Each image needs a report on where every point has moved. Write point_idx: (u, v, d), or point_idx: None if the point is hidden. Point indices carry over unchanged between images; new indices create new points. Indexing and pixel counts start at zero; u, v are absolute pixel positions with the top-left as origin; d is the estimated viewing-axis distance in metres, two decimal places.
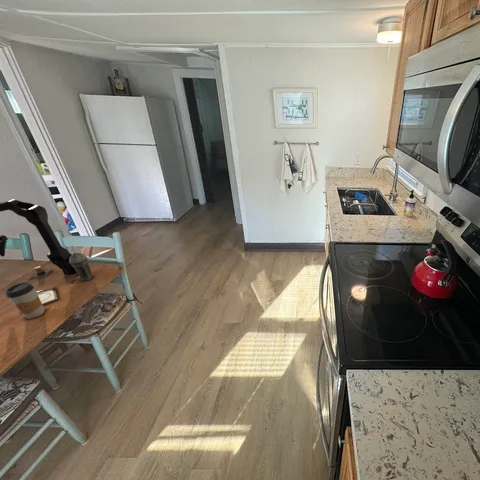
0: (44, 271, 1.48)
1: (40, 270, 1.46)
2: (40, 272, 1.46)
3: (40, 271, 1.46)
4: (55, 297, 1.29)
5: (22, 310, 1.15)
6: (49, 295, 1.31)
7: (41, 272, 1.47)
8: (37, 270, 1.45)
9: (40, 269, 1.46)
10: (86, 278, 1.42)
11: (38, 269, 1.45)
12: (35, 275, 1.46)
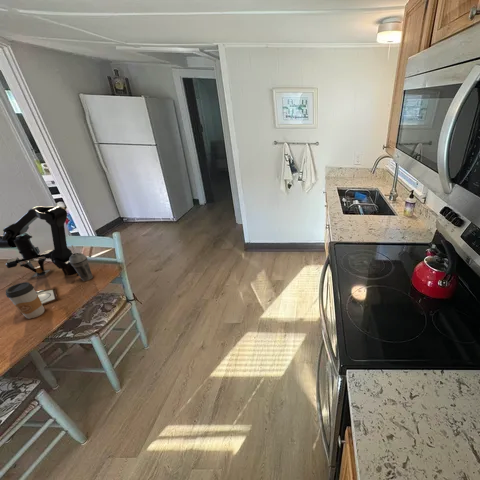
0: (44, 271, 1.48)
1: (40, 270, 1.46)
2: (40, 272, 1.46)
3: (40, 271, 1.46)
4: (55, 297, 1.29)
5: (22, 310, 1.15)
6: (49, 295, 1.31)
7: (41, 272, 1.47)
8: (37, 270, 1.45)
9: (40, 269, 1.46)
10: (86, 278, 1.42)
11: (38, 269, 1.45)
12: (35, 275, 1.46)
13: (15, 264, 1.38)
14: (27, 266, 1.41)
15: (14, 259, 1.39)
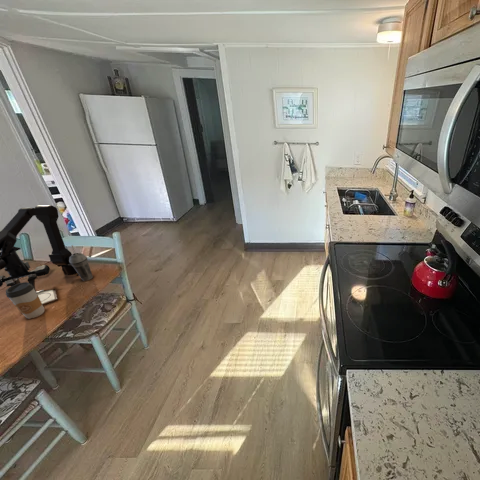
0: (35, 290, 1.27)
1: None
2: None
3: None
4: (55, 297, 1.29)
5: (22, 310, 1.15)
6: (49, 295, 1.31)
7: None
8: None
9: None
10: (86, 278, 1.42)
11: None
12: None
13: (0, 284, 1.17)
14: None
15: None
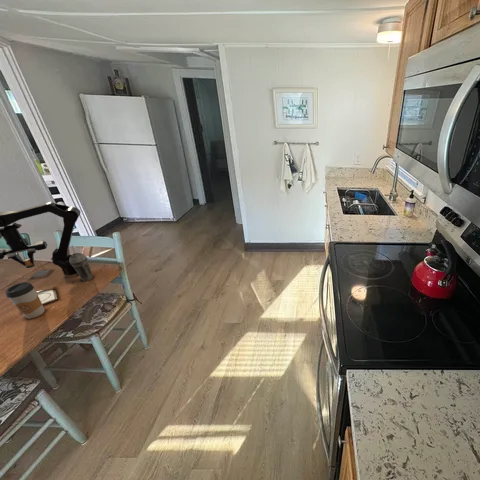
0: (34, 264, 1.38)
1: (29, 263, 1.36)
2: (30, 265, 1.36)
3: (29, 264, 1.36)
4: (55, 297, 1.29)
5: (22, 310, 1.15)
6: (49, 295, 1.31)
7: (31, 265, 1.37)
8: (26, 263, 1.35)
9: (29, 262, 1.36)
10: (86, 278, 1.42)
11: (27, 262, 1.35)
12: (35, 275, 1.46)
13: (2, 256, 1.28)
14: (15, 258, 1.31)
15: (1, 251, 1.29)
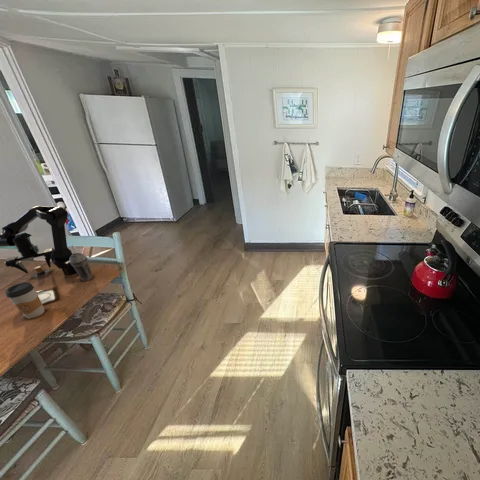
0: (44, 271, 1.48)
1: (40, 270, 1.46)
2: (40, 272, 1.46)
3: (40, 271, 1.46)
4: (55, 297, 1.29)
5: (22, 310, 1.15)
6: (49, 295, 1.31)
7: (41, 272, 1.47)
8: (37, 270, 1.45)
9: (40, 269, 1.46)
10: (86, 278, 1.42)
11: (38, 269, 1.45)
12: (35, 275, 1.46)
13: (14, 263, 1.37)
14: (18, 267, 1.39)
15: (13, 258, 1.39)
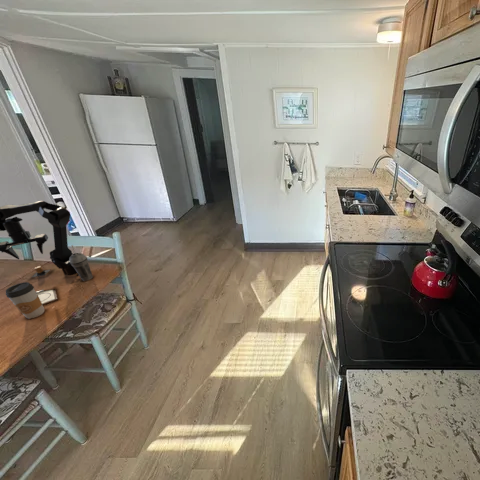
0: (44, 271, 1.48)
1: (40, 270, 1.46)
2: (40, 272, 1.46)
3: (40, 271, 1.46)
4: (55, 297, 1.29)
5: (22, 310, 1.15)
6: (49, 295, 1.31)
7: (41, 272, 1.47)
8: (37, 270, 1.45)
9: (40, 269, 1.46)
10: (86, 278, 1.42)
11: (38, 269, 1.45)
12: (35, 275, 1.46)
13: (4, 248, 1.33)
14: (8, 252, 1.35)
15: (3, 243, 1.35)
